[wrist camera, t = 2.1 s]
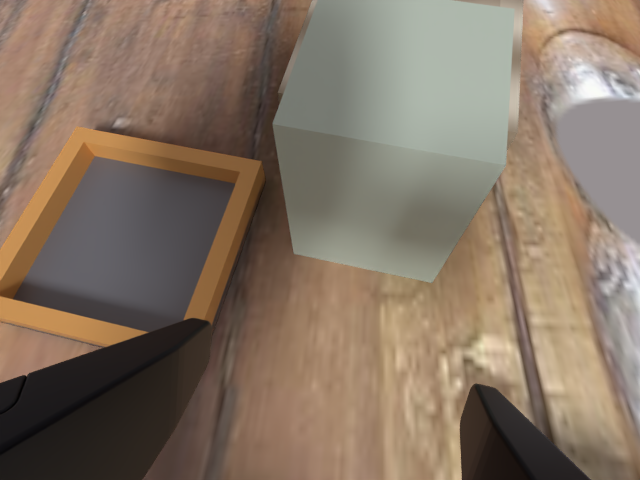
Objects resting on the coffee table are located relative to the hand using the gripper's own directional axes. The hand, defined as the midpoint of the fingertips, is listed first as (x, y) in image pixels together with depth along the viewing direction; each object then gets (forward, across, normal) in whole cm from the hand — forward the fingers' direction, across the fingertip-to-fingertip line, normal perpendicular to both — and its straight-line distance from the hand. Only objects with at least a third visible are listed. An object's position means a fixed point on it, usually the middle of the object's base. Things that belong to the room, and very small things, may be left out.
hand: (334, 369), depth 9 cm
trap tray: (+14, +13, +5) cm, 20 cm away
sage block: (+18, 0, +1) cm, 18 cm away
